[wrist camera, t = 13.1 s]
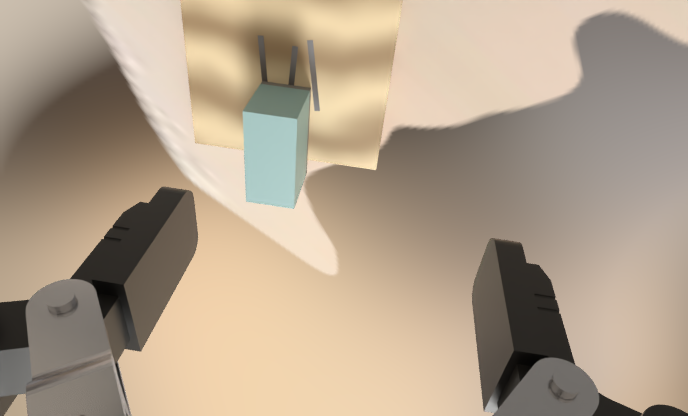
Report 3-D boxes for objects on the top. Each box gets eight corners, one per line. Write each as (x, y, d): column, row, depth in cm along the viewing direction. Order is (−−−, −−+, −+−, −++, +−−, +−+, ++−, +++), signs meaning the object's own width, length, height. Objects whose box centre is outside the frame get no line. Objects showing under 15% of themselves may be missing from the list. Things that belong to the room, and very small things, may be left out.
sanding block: (262, 81, 44) (242, 111, 39) (311, 87, 44) (297, 119, 39) (263, 166, 49) (246, 201, 45) (306, 172, 49) (294, 208, 44)
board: (176, -126, 37) (167, -125, 35) (417, -96, 36) (417, -94, 34) (201, 135, 50) (195, 143, 49) (377, 161, 49) (375, 170, 48)
